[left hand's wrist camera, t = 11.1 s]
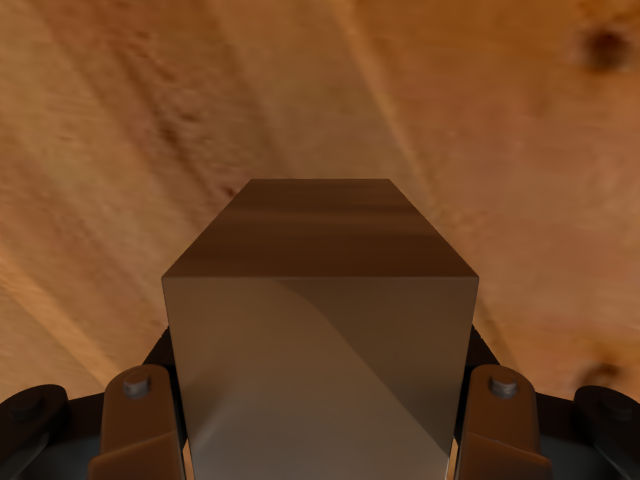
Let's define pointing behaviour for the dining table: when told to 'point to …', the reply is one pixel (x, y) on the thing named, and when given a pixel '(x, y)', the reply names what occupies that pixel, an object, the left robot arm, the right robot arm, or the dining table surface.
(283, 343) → the box
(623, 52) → the dining table surface
